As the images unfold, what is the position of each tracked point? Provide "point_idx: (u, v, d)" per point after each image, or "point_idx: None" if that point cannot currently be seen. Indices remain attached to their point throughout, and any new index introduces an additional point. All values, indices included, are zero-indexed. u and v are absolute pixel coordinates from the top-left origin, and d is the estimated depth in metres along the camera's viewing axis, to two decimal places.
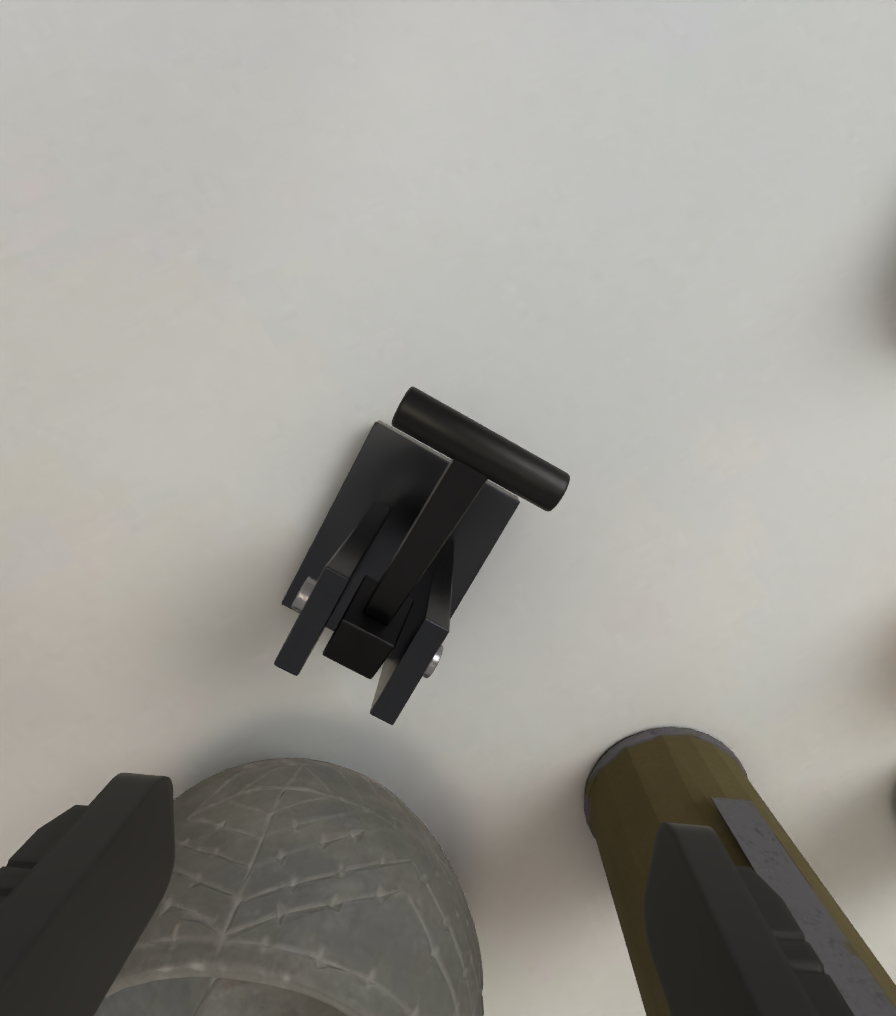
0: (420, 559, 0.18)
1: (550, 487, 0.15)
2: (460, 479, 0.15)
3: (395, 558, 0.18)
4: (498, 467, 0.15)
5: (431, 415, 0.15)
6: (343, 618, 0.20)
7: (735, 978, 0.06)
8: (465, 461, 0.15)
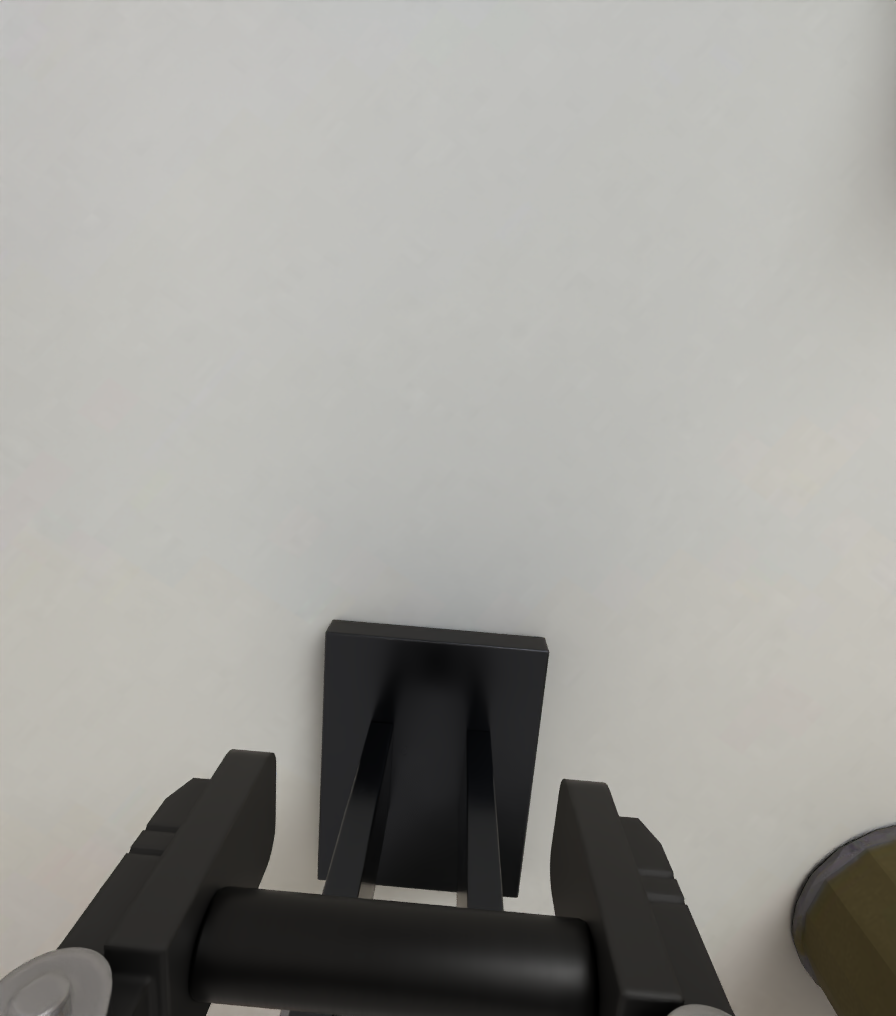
0: None
1: None
2: None
3: None
4: None
5: (257, 978, 0.07)
6: None
7: (595, 904, 0.07)
8: None
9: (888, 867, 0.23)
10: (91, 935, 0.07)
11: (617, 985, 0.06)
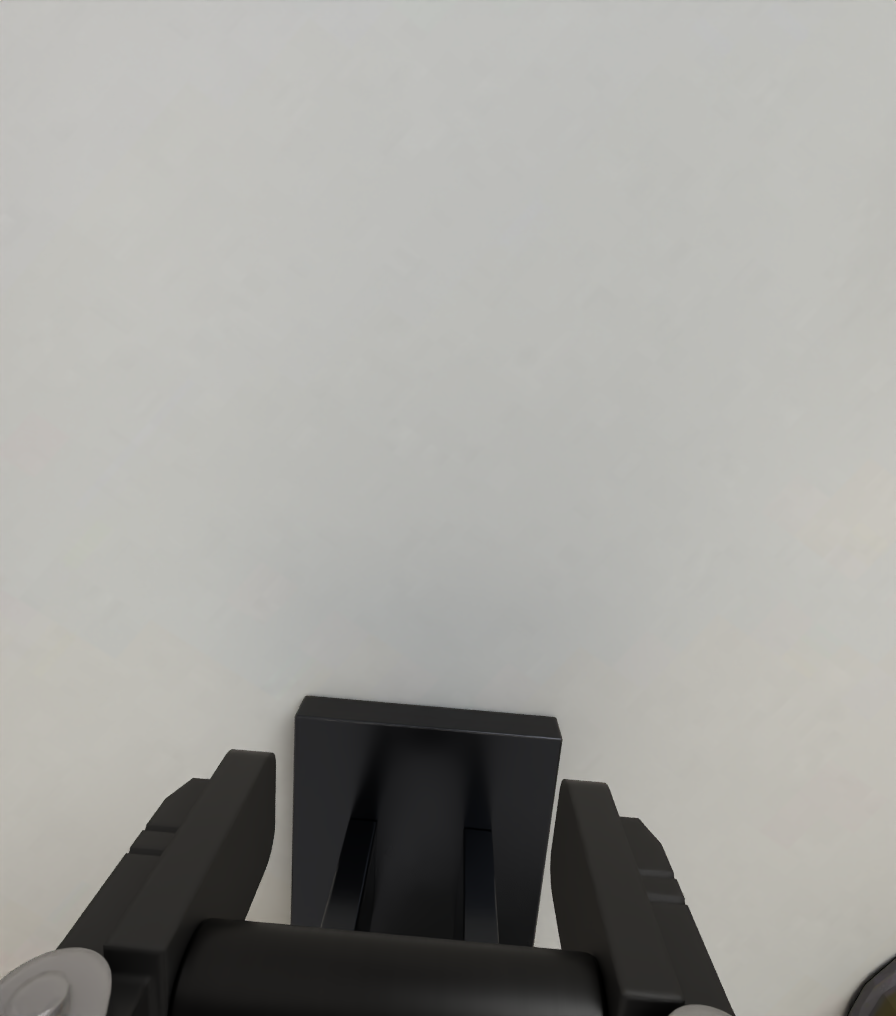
0: None
1: None
2: None
3: None
4: None
5: (245, 998, 0.06)
6: None
7: (596, 904, 0.07)
8: None
9: None
10: (91, 936, 0.07)
11: (618, 985, 0.06)
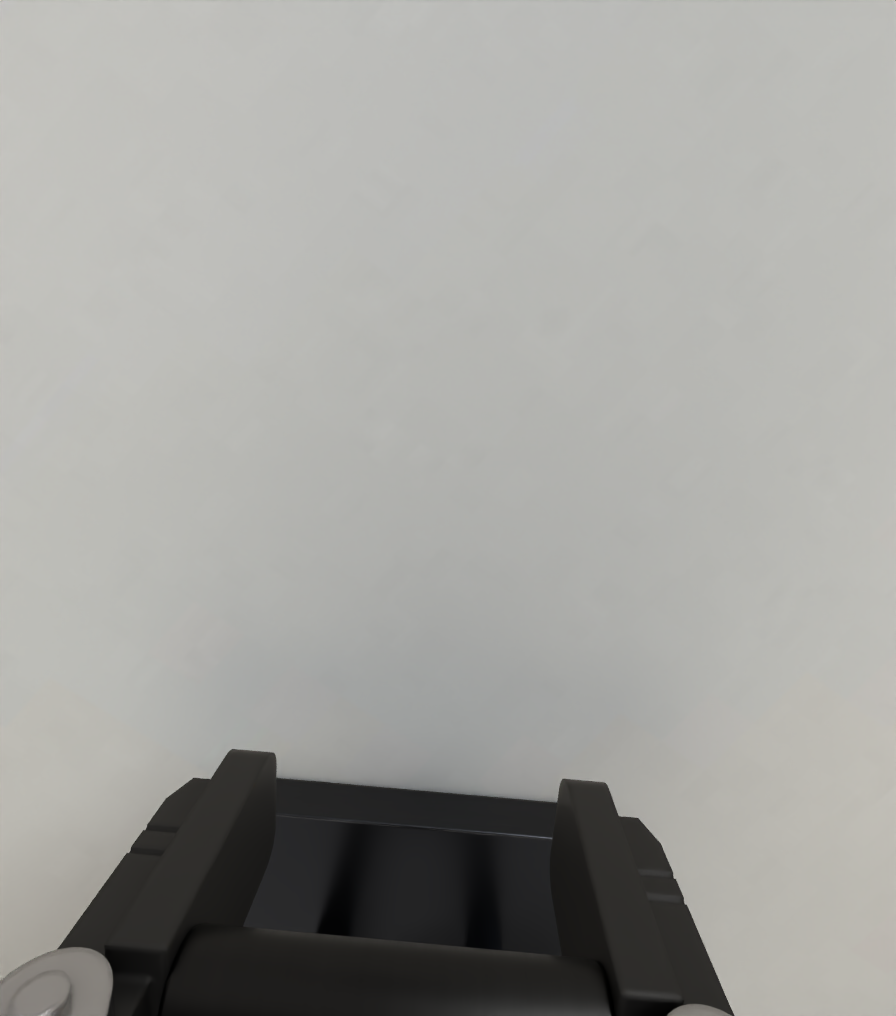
0: None
1: None
2: None
3: None
4: None
5: (244, 975, 0.06)
6: None
7: (595, 904, 0.07)
8: None
9: None
10: (92, 935, 0.07)
11: (617, 985, 0.06)
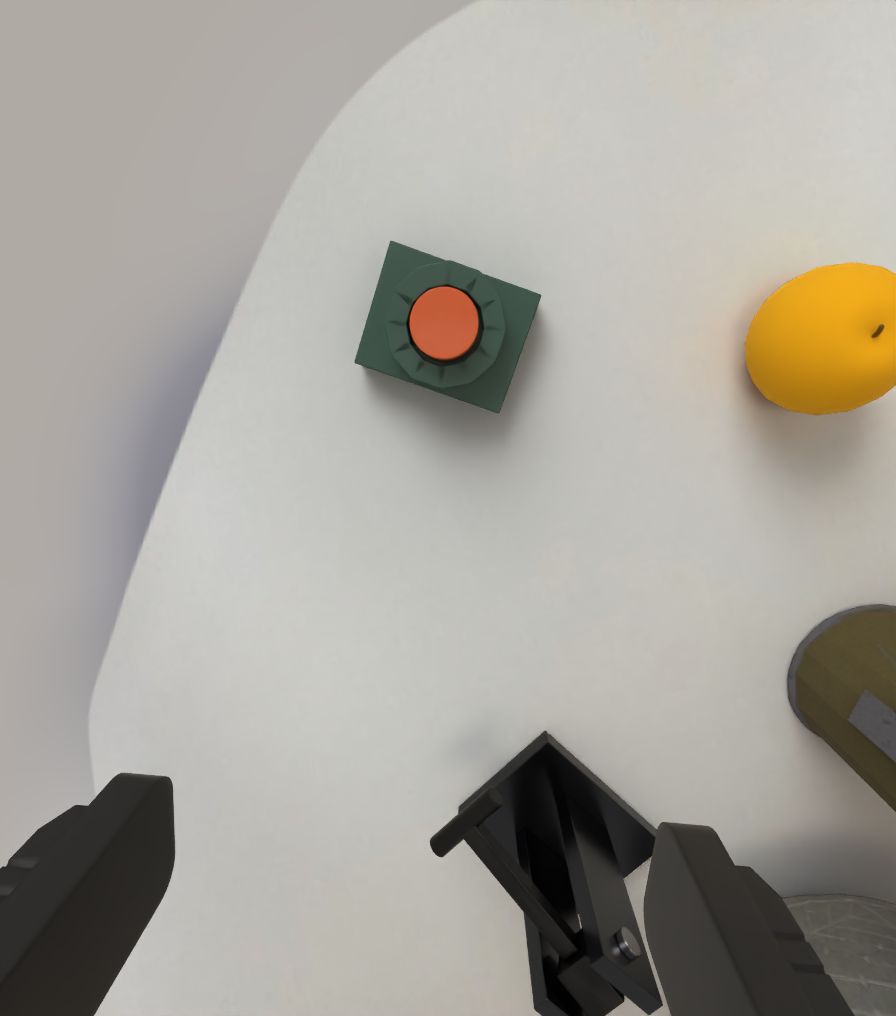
0: (521, 891, 0.31)
1: (485, 799, 0.32)
2: (473, 839, 0.32)
3: (520, 906, 0.31)
4: (469, 818, 0.32)
5: (439, 835, 0.33)
6: (557, 976, 0.30)
7: (735, 978, 0.06)
8: (462, 832, 0.32)
9: (805, 677, 0.36)
10: None
11: None
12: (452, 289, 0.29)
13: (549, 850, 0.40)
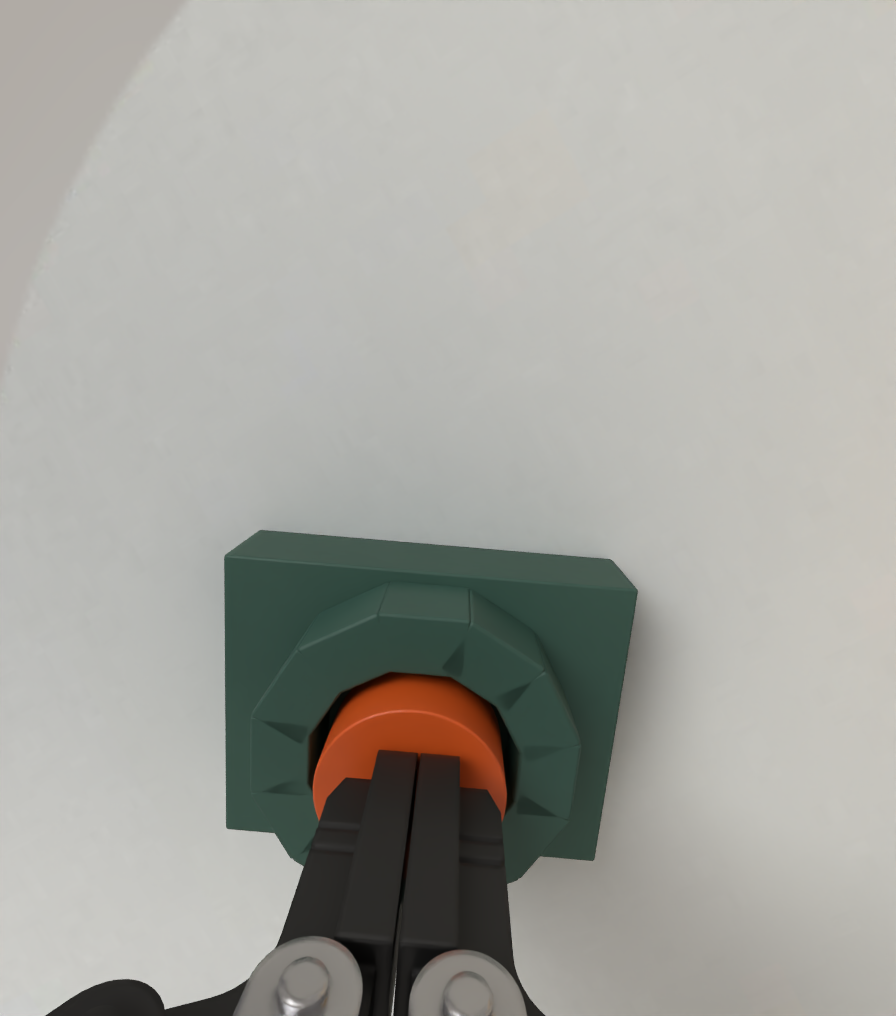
0: None
1: None
2: None
3: None
4: None
5: None
6: None
7: None
8: None
9: None
10: (306, 928, 0.07)
11: (399, 934, 0.07)
12: (408, 715, 0.10)
13: None
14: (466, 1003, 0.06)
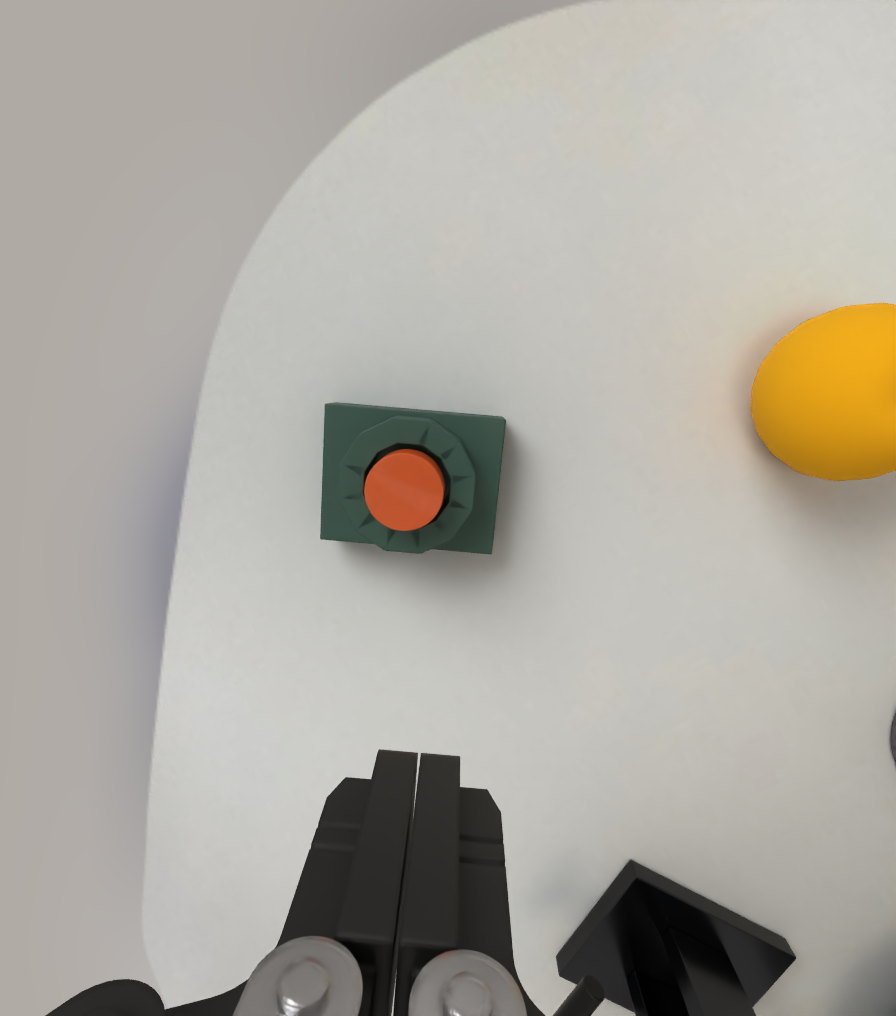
0: None
1: (582, 995, 0.28)
2: None
3: None
4: None
5: None
6: None
7: None
8: None
9: None
10: (306, 927, 0.07)
11: (400, 934, 0.07)
12: (403, 455, 0.25)
13: (668, 988, 0.36)
14: (466, 1003, 0.06)
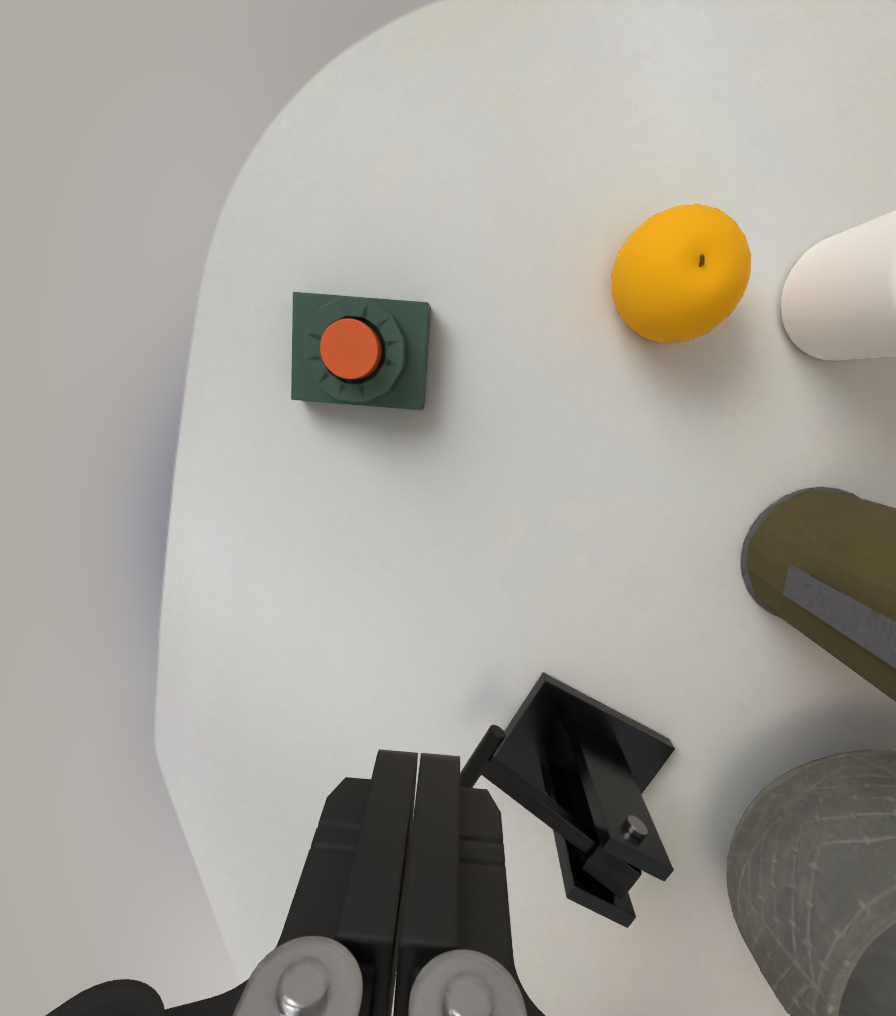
0: (537, 805, 0.36)
1: (489, 735, 0.37)
2: (487, 772, 0.37)
3: (539, 818, 0.36)
4: (480, 755, 0.37)
5: (460, 776, 0.38)
6: (582, 868, 0.35)
7: None
8: (477, 768, 0.37)
9: (753, 569, 0.40)
10: (307, 927, 0.07)
11: (399, 934, 0.07)
12: (347, 320, 0.34)
13: (574, 776, 0.45)
14: (466, 1003, 0.06)
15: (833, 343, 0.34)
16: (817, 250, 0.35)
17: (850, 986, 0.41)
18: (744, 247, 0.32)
